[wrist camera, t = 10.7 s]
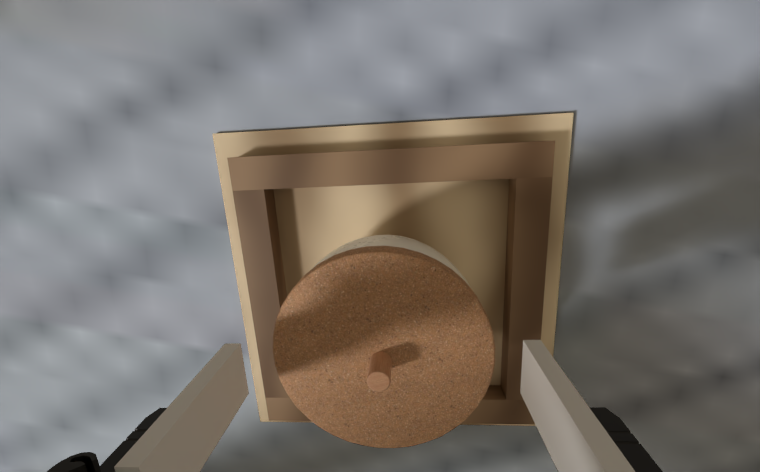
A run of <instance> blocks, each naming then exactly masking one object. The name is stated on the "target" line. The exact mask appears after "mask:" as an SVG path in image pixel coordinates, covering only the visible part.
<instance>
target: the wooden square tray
mask: <svg viewBox="0 0 760 472" xmlns="http://www.w3.org/2000/svg"><path fill="white" fill-rule="evenodd" d="M572 125H573V113H559V114H542V115H525V116H508V117H491V118H474V119H457V120H439V121H422V122H405V123H388V124H371V125H354V126H337V127H320V128H303V129H286V130H269V131H251V132H234V133H217V134H213V140H214V146H215V152H216V158H217V164H218V170H219V176H220V182H221V188H222V194H223V200H224V206H225V212H226V218H227V224H228V230H229V236H230V242H231V248H232V254H233V260H234V266H235V272H236V278H237V284H238V290H239V296H240V302H241V308H242V314H243V320H244V326H245V332H246V338H247V344H248V350H249V356H250V362H251V368H252V374H253V380H254V386H255V392H256V398H257V404H258V410H259V416H260V422H312V421H311V420H310V419H308V418H307V417H306V416H305V415H304V414H303V413H302V412H301V411H300V410H299V409H298V408H297V407H296V406H295V404H294V403H293V401H292V400H291V399H290V397H289V396H288V394H287V393H286V391H285V389H284V387H283V385H282V383H281V381H280V379H279V376H278V373H277V370H276V367H275V362H274V356H273V332H274V327H275V322H276V319H277V316H278V313H279V311H280V308H281V306H282V304H283V302H284V301H285V299H286V298H287V296H288V294H289V293H290V291H291V290H292V289H293V287H294V286H295V285H296V284H297V283H298V282H299V281H300V280H301V278H302V277H303V276H304V275H305V274H306V273H308V272H309V271H310V270H311V269H312V268H313V267H314V266H315V265H316V264H317V263H318V262H319V261H320V260H322V259H323V258H324V257H325V256H327V255H328V254H329V253H330V252H332V251H333V250H335V249H337V248H339V247H340V246H342V245H344V244H346V243H348V242H351V241H354V240H356V239H359V238H363V237H368V236H374V235H397V236H404V237H407V238H411V239H415V240H417V241H419V242H422V243H424V244H426V245H428V246H430V247H432V248H433V249H435V250H436V251H438V252H439V253H441V254H442V255H444V256H445V257H446V258H447V259H448V260H449V261H450V262H451V263H452V264H453V265H454V266H455V267H456V268H457V269H458V270H459V272H460V273H461V274H462V275H463V277H464V278H465V279H466V280H467V282H468V284H469V286H470V288H471V289H472V290H473V292H474V293H475V294H476V295H477V297H478V299H479V301H480V303H481V304H482V306H483V308H484V310H485V312H486V314H487V316H488V319H489V322H490V325H491V328H492V331H493V335H494V342H495V366H494V371H493V376H492V380H491V382H490V385H489V387H488V389H487V392H486V394H485V396H484V397H483V399H482V400H481V402H480V403H479V405H478V406H477V408H476V409H475V410H474V411H473V412H472V413H471V414H470V415H469V417H468V418H467V419H466V420H464V421H463V422H462V423H461V424H459V425H519V426H536V425H535V422H534V420H533V418H532V416H531V414H530V412H529V410H528V408H527V406H526V404H525V402H524V400H523V397H522V395H521V393H520V388H521V370H522V351H523V340H541V341H542V342H543V344H544V345H545V347H546V348H547V349H548V351H549V352H550V354H551V355H552V356H553V351H554V339H555V327H556V315H557V303H558V292H559V280H560V268H561V256H562V244H563V232H564V220H565V208H566V197H567V185H568V173H569V161H570V149H571V137H572Z"/></svg>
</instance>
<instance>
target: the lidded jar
mask: <svg viewBox="0 0 760 472" xmlns="http://www.w3.org/2000/svg"><path fill="white" fill-rule="evenodd" d="M273 356H274V362H275V367H276V370H277V373H278V376H279V379H280V381H281V383H282V385H283V387H284V389H285V391H286V393H287V394H288V396H289V397H290V399H291V400H292V401H293V403H294V404H295V406H296V407H297V408H298V409H299V410H300V411H301V412H302V413H303V414H304V415H305V416H306V417H307V418H308V419H310V420H311V421H312V422H313V423H315V424H316V425H317V426H318V427H320V428H322V429H323V430H325V431H327V432H329V433H330V434H332V435H334V436H337V437H339V438H341V439H343V440H346V441H348V442H352V443H356V444H360V445H364V446H370V447H377V448H399V447H409V446H414V445H418V444H422V443H425V442H428V441H431V440H433V439H436V438H438V437H441V436H443V435H444V434H446V433H448V432H449V431H451V430H453V429H454V428H456V427H457V426H458V425H459V424H461V423H462V422H463V421H464V420H466V419H467V418H468V417H469V415H470V414H471V413H472V412H473V411H474V410H475V409H476V408H477V406H478V405H479V403H480V402H481V400H482V399H483V397H484V396H485V394H486V392H487V389H488V387H489V385H490V382H491V380H492V376H493V371H494V366H495V342H494V335H493V331H492V328H491V325H490V322H489V319H488V316H487V314H486V312H485V310H484V308H483V306H482V304H481V303H480V301H479V299H478V297H477V295H476V294H475V293H474V292H473V290H472V289H471V288H470V286H469V284H468V282H467V280H466V279H465V278H464V277H463V275H462V274H461V273H460V272H459V270H458V269H457V268H456V267H455V266H454V265H453V264H452V263H451V262H450V261H449V260H448V259H447V258H446V257H445V256H444V255H442V254H441V253H439V252H438V251H436V250H435V249H433V248H432V247H430V246H428V245H426V244H424V243H422V242H419V241H417V240H415V239H411V238H407V237H404V236H397V235H374V236H368V237H363V238H359V239H356V240H354V241H351V242H348V243H346V244H344V245H342V246H340V247H339V248H337V249H335V250H333V251H332V252H330V253H329V254H328V255H327V256H325V257H324V258H323V259H322V260H320V261H319V262H318V263H317V264H316V265H315V266H314V267H313V268H312V269H311V270H310V271H309V272H308V273H306V274H305V275H304V276H303V277H302V278H301V280H300V281H299V282H298V283H297V284H296V285H295V286H294V287H293V289H292V290H291V291H290V293H289V294H288V296H287V298H286V299H285V301H284V302H283V304H282V306H281V308H280V311H279V313H278V316H277V319H276V322H275V327H274V332H273Z"/></svg>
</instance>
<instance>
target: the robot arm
mask: <svg viewBox="0 0 760 472" xmlns="http://www.w3.org/2000/svg"><path fill="white" fill-rule="evenodd" d="M520 393H521V395H522V397H523V400H524V402H525V404H526V406H527V408H528V410H529V412H530V414H531V416H532V418H533V420H534V422H535V425H536V427H537V429H538V431H539V433H540V435H541V437H542V439H543V441H544V443H545V445H546V447H547V450H548V452H549V454H550V456H551V458H552V460H553V462H554V464H555V466H556V468H557V470H558V472H662V470H661V469H660V468H659V467H658V465H657V464H656V463H655V462H654V460H653V459H652V458H651V457H650V455H649V454H648V453H647V452H646V450H645V449H644V448H643V447H642V445H641V444H639V443H638V440H637V439H636V438H635V437H634V435H633V434H631V433H630V430H629V429H628V428H627V427H626V425H625V424H624V423H623V422H622V420H621V419H620V418H619V417H617V416H616V415H614V414H613V413H612V412H610V411H609V410H608V409H606V408H589V406H588V405H587V404H586V402H585V401H584V399H583V398H582V397H581V395H580V394H579V393H578V391H577V390H576V388H575V387H574V386H573V384H572V383H571V381H570V380H569V379H568V377H567V376H566V374H565V373H564V372H563V370H562V369H561V367H560V366H559V365H558V363H557V362H556V360H555V359H554V358H553V356H552V355H551V354H550V352H549V351H548V349H547V348H546V347H545V345H544V344H543V342H542V341H541V340H523V351H522V370H521V388H520ZM248 394H249V392H248V386H247V380H246V374H245V368H244V362H243V356H242V350H241V344H224V345H223V346H222V348H221V349H220V350H219V351H218V352H217V353H216V354H215V355H214V356H213V358H212V359H211V360H210V361H209V362H208V363H207V364H206V365H205V366H204V368H203V369H202V370H201V371H200V372H199V373H198V374H197V375H196V376H195V378H194V379H193V380H192V381H191V382H190V383H189V384H188V385H187V386H186V388H185V389H184V390H183V391H182V392H181V393H180V394H179V395H178V396H177V398H176V399H175V400H174V401H173V402H172V403H171V404H170V405H169V406H168V408H159V409H158V410H156V411H155V412H154V413H152V414H151V415H149V416H148V417H146V418H145V419H144V420H143V421H142V422H141V423H140V424H139V426H138V427H137V428H136V429H135V431H133V432H132V433H131V434H130V435H129V436H128V437H127V438H126V441H123V442H122V444H121V445H120V446H119V447H118V448H117V449H116V450H115V451H114V452H113V453H112V454H111V455H110V456H109V457H108V458H107V459H106V460H105V461H104V463H103V464H102V465H101V466H99V463H98V460H97V457H96V454H94V453H91V452H86V453H79V454H76V455H73V456H70V457H68V458H67V459H65V460H63V461H61V462H59V463H58V464H56V465H55V466H53V467H52V468H51V469H49V470H48V471H47V472H200V471H201V469H202V467H203V466H204V464H205V463H206V461H207V459H208V458H209V456H210V455H211V453H212V451H213V450H214V448H215V447H216V445H217V443H218V442H219V440H220V439H221V437H222V435H223V434H224V432H225V431H226V429H227V427H228V426H229V424H230V422H231V421H232V419H233V418H234V416H235V414H236V413H237V411H238V410H239V408H240V406H241V405H242V403H243V402H244V400H245V398H246V397H247V395H248Z"/></svg>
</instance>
